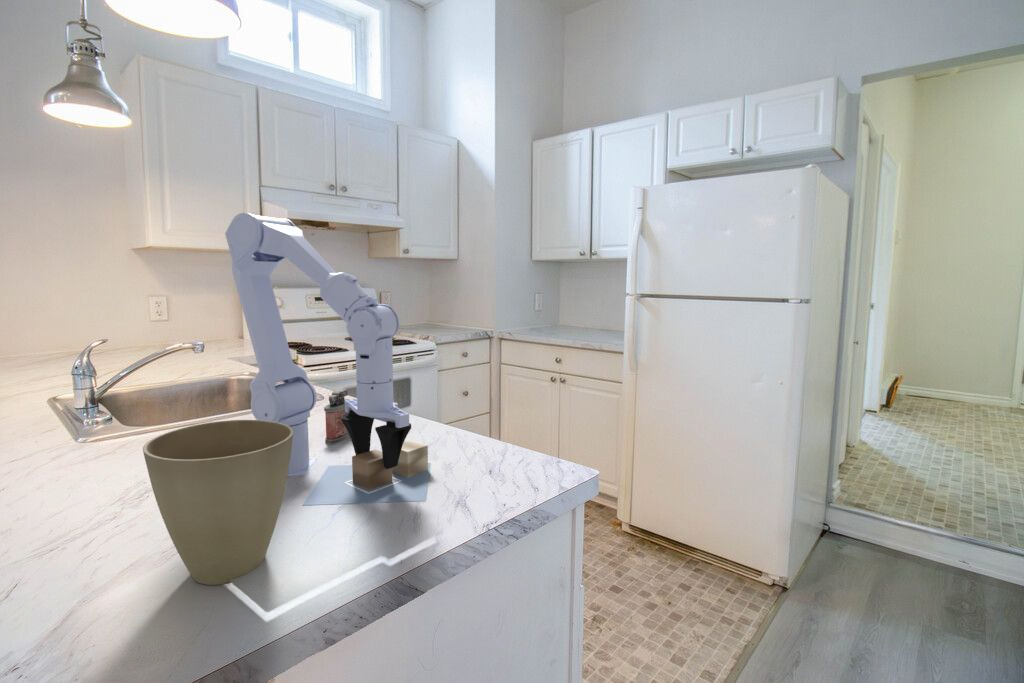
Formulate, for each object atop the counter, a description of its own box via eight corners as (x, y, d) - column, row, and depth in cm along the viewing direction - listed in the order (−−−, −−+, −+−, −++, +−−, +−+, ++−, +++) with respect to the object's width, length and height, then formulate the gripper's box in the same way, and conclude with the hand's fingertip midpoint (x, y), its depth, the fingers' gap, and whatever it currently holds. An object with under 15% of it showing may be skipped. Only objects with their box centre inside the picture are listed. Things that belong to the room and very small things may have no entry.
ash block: (407, 477, 87) (407, 452, 86) (390, 471, 90) (390, 446, 89) (427, 470, 91) (427, 445, 90) (411, 464, 93) (410, 440, 93)
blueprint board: (302, 509, 76) (302, 504, 76) (328, 469, 92) (328, 465, 92) (425, 504, 78) (425, 500, 78) (430, 466, 94) (430, 462, 94)
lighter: (336, 444, 105) (335, 396, 104) (321, 443, 106) (319, 395, 105) (356, 433, 113) (354, 388, 112) (341, 431, 114) (340, 387, 113)
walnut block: (369, 490, 82) (368, 462, 81) (352, 482, 85) (352, 456, 84) (392, 481, 85) (391, 455, 85) (375, 474, 88) (375, 449, 88)
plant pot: (180, 627, 51) (169, 471, 49) (136, 570, 60) (125, 437, 58) (321, 564, 62) (317, 435, 60) (265, 524, 72) (260, 412, 70)
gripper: (423, 382, 82) (424, 465, 84) (368, 371, 91) (370, 445, 93) (387, 390, 77) (389, 477, 78) (332, 377, 86) (335, 456, 87)
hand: (376, 461), depth 85 cm, fingers open, 7 cm apart
